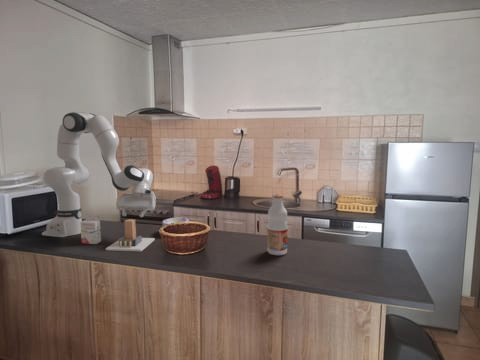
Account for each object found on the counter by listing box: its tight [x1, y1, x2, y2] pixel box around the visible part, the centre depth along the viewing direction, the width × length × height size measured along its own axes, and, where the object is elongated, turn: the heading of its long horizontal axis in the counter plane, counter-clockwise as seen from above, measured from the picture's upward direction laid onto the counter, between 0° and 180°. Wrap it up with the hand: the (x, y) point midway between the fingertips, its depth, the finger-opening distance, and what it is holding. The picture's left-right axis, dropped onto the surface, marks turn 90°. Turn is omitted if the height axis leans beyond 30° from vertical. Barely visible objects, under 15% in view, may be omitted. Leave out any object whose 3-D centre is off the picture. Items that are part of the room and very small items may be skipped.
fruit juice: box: [266, 193, 288, 256], centre depth 148 cm, size 9×9×28 cm
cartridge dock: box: [105, 235, 156, 252], centre depth 161 cm, size 18×18×4 cm
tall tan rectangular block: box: [124, 218, 137, 240], centre depth 160 cm, size 4×4×12 cm
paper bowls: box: [161, 217, 190, 227], centre depth 181 cm, size 15×15×8 cm
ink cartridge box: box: [80, 214, 102, 245], centre depth 164 cm, size 9×5×15 cm, turn 84°
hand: (132, 216), depth 162 cm, fingers open, 8 cm apart
